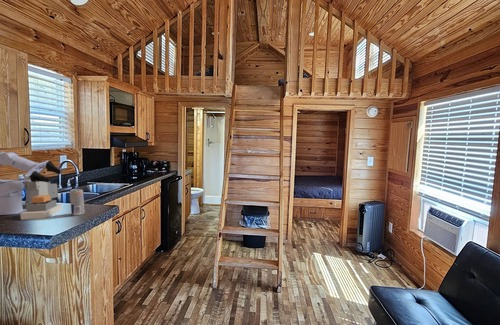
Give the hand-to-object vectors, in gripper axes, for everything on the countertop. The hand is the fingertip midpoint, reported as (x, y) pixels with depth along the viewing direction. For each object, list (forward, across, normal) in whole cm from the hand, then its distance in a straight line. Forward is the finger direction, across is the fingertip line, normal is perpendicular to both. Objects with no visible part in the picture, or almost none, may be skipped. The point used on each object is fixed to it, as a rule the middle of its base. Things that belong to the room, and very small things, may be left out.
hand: (55, 176), depth 131 cm
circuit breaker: (-6, +1, +26) cm, 26 cm away
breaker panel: (+4, -13, +14) cm, 19 cm away
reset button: (+1, -10, +8) cm, 13 cm away
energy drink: (+20, -11, +7) cm, 24 cm away
